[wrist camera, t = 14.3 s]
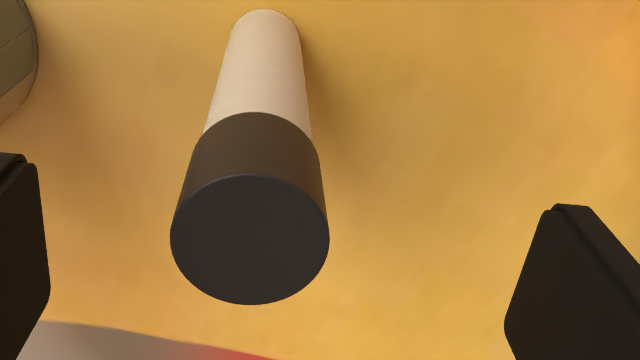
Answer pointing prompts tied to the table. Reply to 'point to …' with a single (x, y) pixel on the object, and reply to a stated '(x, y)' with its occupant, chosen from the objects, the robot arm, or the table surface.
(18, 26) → the pen holder
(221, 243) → the marker
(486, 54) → the table surface
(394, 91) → the table surface
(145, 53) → the table surface
